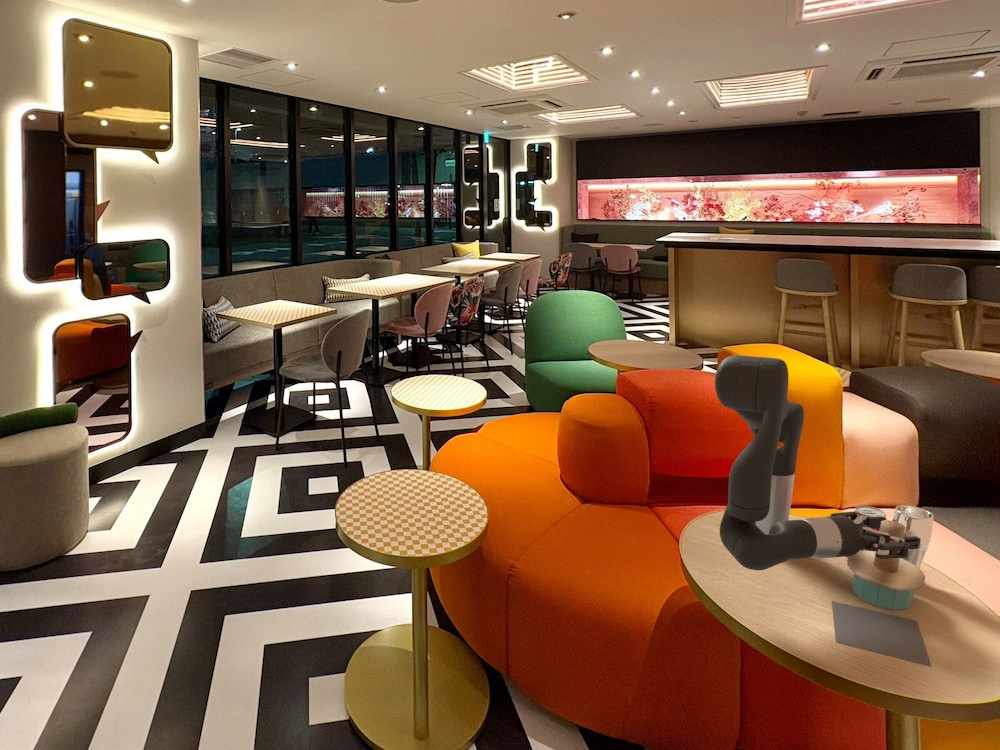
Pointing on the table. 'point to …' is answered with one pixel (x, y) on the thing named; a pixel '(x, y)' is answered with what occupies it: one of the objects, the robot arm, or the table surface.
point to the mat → (879, 633)
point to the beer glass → (915, 529)
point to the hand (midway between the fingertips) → (900, 531)
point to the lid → (887, 565)
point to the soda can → (869, 515)
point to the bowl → (881, 594)
